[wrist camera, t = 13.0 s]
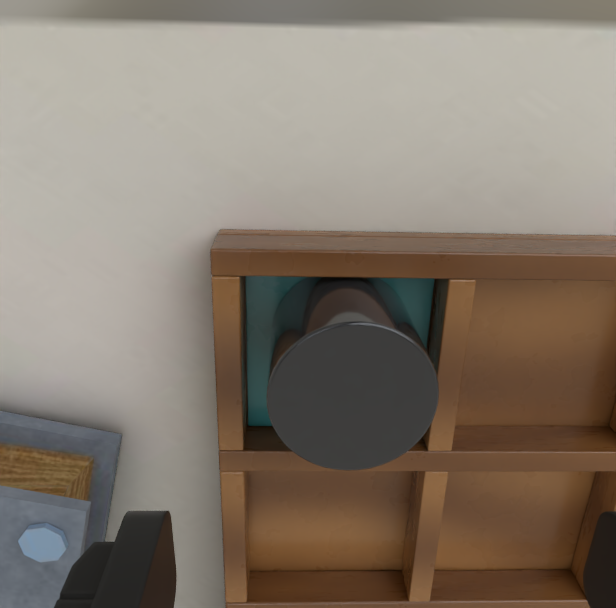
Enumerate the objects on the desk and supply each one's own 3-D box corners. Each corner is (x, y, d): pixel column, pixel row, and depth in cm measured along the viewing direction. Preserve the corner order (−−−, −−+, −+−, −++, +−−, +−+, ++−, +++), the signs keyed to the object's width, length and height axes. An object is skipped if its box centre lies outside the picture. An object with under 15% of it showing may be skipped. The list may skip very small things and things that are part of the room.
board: (218, 228, 18) (209, 248, 16) (874, 239, 18) (944, 259, 16) (235, 684, 26) (230, 735, 24) (691, 679, 26) (723, 727, 24)
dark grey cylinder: (272, 265, 17) (267, 319, 14) (417, 270, 17) (451, 324, 14) (269, 391, 19) (264, 470, 15) (401, 395, 19) (428, 473, 15)
